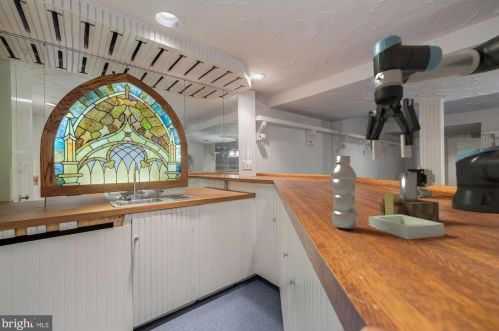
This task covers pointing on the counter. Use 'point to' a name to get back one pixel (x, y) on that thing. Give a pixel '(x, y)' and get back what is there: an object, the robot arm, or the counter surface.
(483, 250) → the counter surface
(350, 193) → the plastic bottle
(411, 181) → the grey metal peg
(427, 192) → the ball valve
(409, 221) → the tray
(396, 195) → the brass block
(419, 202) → the socket block
